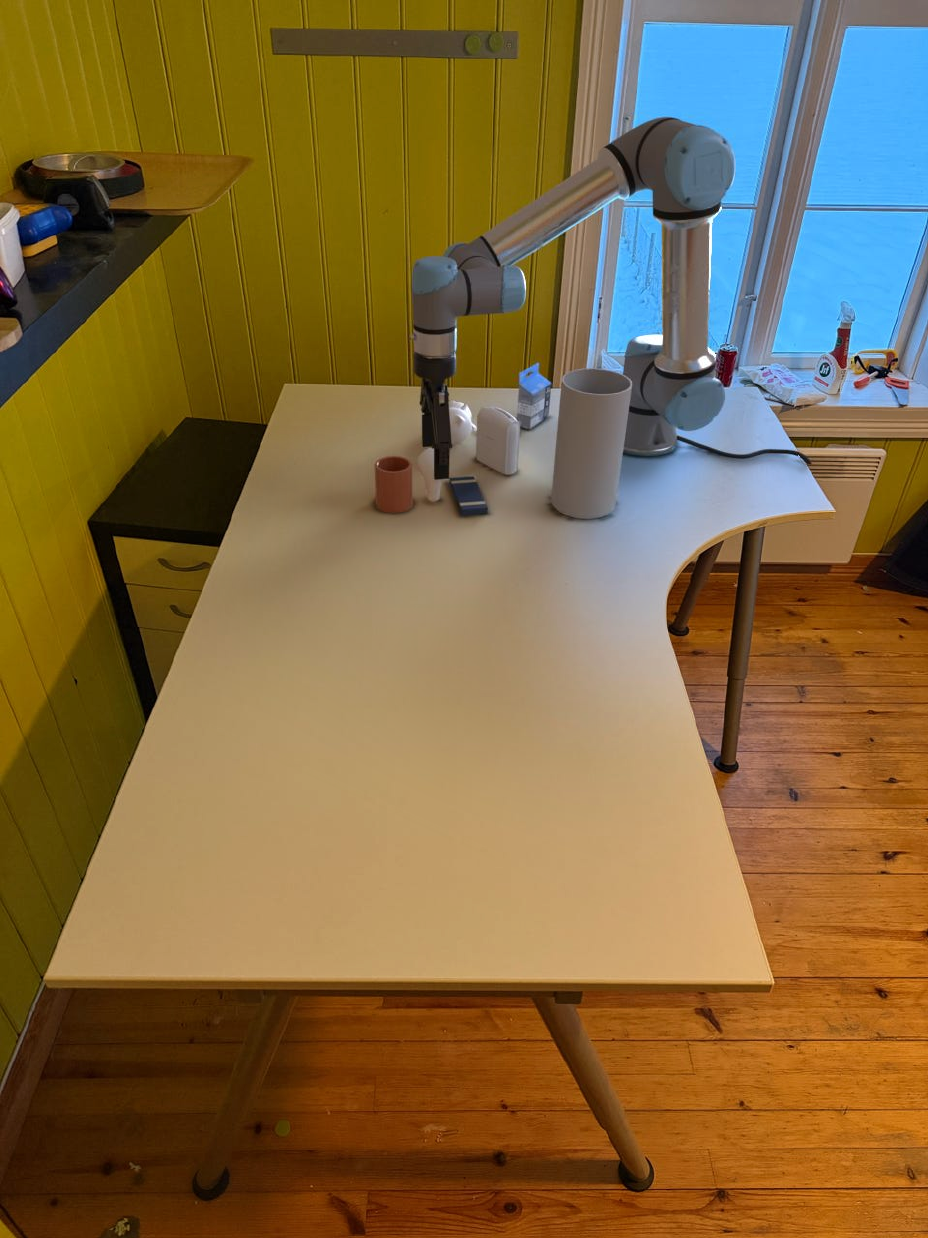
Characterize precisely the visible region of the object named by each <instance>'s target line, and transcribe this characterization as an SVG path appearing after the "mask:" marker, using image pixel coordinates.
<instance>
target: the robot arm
mask: <svg viewBox="0 0 928 1238" xmlns="http://www.w3.org/2000/svg"><path fill="white" fill-rule="evenodd" d="M735 174H736V158H735V153H734V151H733V148H732V146H731V144H730V143H729V141H728V140H727V139H726V138H725V137H724V136H723V135H721V133H718V132H717V131H715V130H714V129H712V128H711V127H708V126H706V125H702V124H696V123H695V124H694V123H691V122H688V121H684V120H681V119H680V118H677V117H672V116H662V117H656V118H653V119H650V120H648V121H647V120H646V122H643V123H641V124H639V125H637V126H635V127H633V128H632V129H630V130H628V131H627V132H625V133H623V134H622V135H620V136H618V137H617V138H615V139H614V140H612V141H611V142H609V143H608V144H607V145H604V147H602V148H600V149H599V151H598V156H597V158H596V159H594V160H593V161H592V162H590V163H589V164H587V165H586V166H584V167H582V168H581V169H579V170H578V171H576V172H575V173H573V174H572V175H570V176H569V177H568V178H566V179H563V181H561V182H560V183H558V184H557V185H555V186H554V187H552V188H550V189H549V190H547V191H546V192H544V193H543V194H542V195H540V196H539V197H537V198H536V199H534V200H533V201H531V202H529V203H528V204H527V205H525V206H524V207H522V208H520V209H519V210H517V211H516V212H514V213H513V214H512V215H511V214H510V216H509V217H507V218H505V219H504V220H502V221H501V222H499V223H497V224H496V225H495V226H493V227H491V228H490V229H488V230H487V231H485V232H484V233H482V234H481V235H480V236H478V237H477V238H475V239H473V240H472V241H470V242H469V243H467V242H456V243H453V244H451V245H449V246H448V247H447V248H446V250H444V252H443V254H442V256H436V255H435V256H434V255H432V256H424V257H421V258H419V259H417V260H416V261H415V262H414V264H413V266H412V275H411V289H410V290H411V297H412V300H411V301H412V319H413V320H412V330H413V333H410V334H409V339H410V340H412V341H413V351H414V352H413V356H412V357H413V373H414V375H415V376H416V377H418V378H420V379H421V383H420V396H419V406H420V407H421V408H420V411H421V446H422V448H432V449H434V479H435V480H440V479H443V480H449V478H450V467H449V462H450V450H451V449H452V448H453V444H452V441H451V428H450V415H449V404H450V403H449V400H450V399H449V398H450V393H449V388H448V385H447V384H446V382H445V381H446V380H447V379H451V378H452V377H454V375H455V374H456V373H457V354H456V351H457V346H458V345H457V344H458V343H457V341H458V340H457V339H458V337H457V334H458V330H457V329H458V328H457V327H458V324H457V321H458V320H457V319H458V318H459V317H468V316H469V317H470V316H482V315H484V316H485V315H495V314H496V315H497V314H501V315H503V314H507V313H511V312H517V311H519V310H521V309H522V308H523V306H524V304H525V301H526V295H527V284H526V279H525V274H524V272H523V271H522V269H521V268H520V267H519V266H517V265H516V264H518V263H519V262H520V261H522V260H524V259H526V258H528V256H530V255H531V254H533V253H535V252H537V251H538V250H540V249H541V248H543V247H544V246H545V245H547V244H549V243H550V242H552V241H553V240H555V239H556V238H558V237H560V236H561V235H563V234H564V233H565V232H567V231H569V230H570V229H572V228H574V227H575V226H576V225H578V224H580V223H581V222H582V221H584V220H586V219H587V218H589V217H590V216H592V215H593V214H595V213H596V212H598V211H600V210H601V209H602V208H604V207H605V206H607V205H609V204H610V203H612V202H613V201H616V199H619V200H623V201H624V200H625V201H626V200H627V199H629V198H630V197H632V196H634V195H636V194H638V193H640V192H643V191H648V190H649V191H652V217H653V218H654V219H655V220H656V221H657V222H659V223H660V225H661V334H646V335H640V336H636V337H634V338H632V339H630V340H629V341H628V343H627V346H626V350H625V353H624V363H623V371H622V374H623V375H625V376H627V377H628V378H629V379H630V380H631V381H632V390H631V397H630V404H629V412H628V419H627V426H626V433H625V440H624V448H623V454H626V455H630V456H635V457H645V458H646V457H660V456H664V455H667V454H669V453H671V452H673V451H674V450H675V449H676V446H677V441H679V442H682V443H685V444H687V445H690V446H692V447H695V448H698V449H700V450H704V451H707V452H709V453H712V454H714V455H717V456H721V457H725V458H729V459H735V460H737V459H738V460H744V459H745V460H746V459H752V458H754V457H758V456H760V455H761V456H762V455H766V454H775V455H776V454H777V455H792V456H796V457H798V455H799V456H800V457H799V459H801V460H803V462H804V463H805V464H806V465H812V464H813V463H812V461H811V459H810V458H809V457H808V456H806V454H804V453H802V452H800V451H798V450H794V449H783V448H779V449H778V448H763V449H759V450H755V451H753V452H750V453H743V454H742V453H741V454H739V453H738V454H737V453H731V452H726V451H723V450H720V449H716V448H714V447H711V446H708V445H705V444H702V443H699V442H697V441H694V440H692V439H689V438H686V437H683V436H681V435H678V433H677V429H678V430H680V431H683V432H693V431H697V430H701V429H703V428H704V427H706V426H708V425H709V424H710V423H712V422H713V421H714V419H715V417H717V416H718V415H719V414H720V413H721V411H722V410H723V407H724V404H725V401H726V389H725V386H724V385H723V383H722V381H721V380H720V379H718V378H716V366H717V358H716V357H717V355H716V354H715V352H714V351H712V349H710V348H709V328H710V327H709V326H710V325H709V324H710V293H711V291H710V290H711V289H710V288H711V286H710V285H711V257H712V227H713V226H712V225H713V224H712V223H713V219H714V218H715V217H716V216H717V215H718V214H719V213H720V212H721V210H722V201H723V199H725V197H726V196H727V192H728V190H730V189H731V187H732V185H733V182H734V179H735Z"/></svg>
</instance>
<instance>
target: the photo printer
mask: <svg viewBox="0 0 928 1238" xmlns="http://www.w3.org/2000/svg"><path fill="white" fill-rule="evenodd" d="M476 427H477V432H476V441H475V447H476V448H475V458H476V460H477V461H478V462H480V463H482V464H483V465H485V466H487V467H489V468H491V469H492V470H494V471H496V472H498V473H500V474H501V475H506V476H509V475H513V474H515V473H516V472H517V470H518V468H519V453H520V437H521V436H520V433H521V427H520V425H519V422H518V421H517V418H515V417H514V416H513V415H512V414H511V413H509V412H508V411H506V410H504V409H503V408H500V407H497V406H492V405H486V406H483V407H481V408H480V409H479V410H478V412H477V416H476Z"/></svg>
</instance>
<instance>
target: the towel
mask: <svg viewBox="0 0 928 1238" xmlns="http://www.w3.org/2000/svg"><path fill="white" fill-rule="evenodd" d="M448 481H449V483H448V484H449V487H450V489H451V492H452V494H453V497H454V500H455V502H456V505H457V507H458V510H459V512H460V515H461V517H465V516H466V517H467V516H478V515H488V513H489V507H488V505H487V503H486V501H485V498H484V496H483V494H482V491H481V489H480V487H479V485H478V482H477V480H476V477H475V476H474V475H470V476H455V477H449V479H448Z"/></svg>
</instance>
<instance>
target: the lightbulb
mask: <svg viewBox="0 0 928 1238" xmlns="http://www.w3.org/2000/svg"><path fill="white" fill-rule="evenodd" d="M417 458H418V459H417V462H416V464H417V465H416V466H417V470H418V472H419V474H420V476H421V477H422V479H423V482H424V489H425V491H426V498H427V500H428V501H430V502H432V503H435V502H437V501H439V500H440V498H441V491H442V487H443V481H444V479H440V480H435V479H434V449H432V447H427V448H426V449H424V450H423V451H422V452H421V453H420V454H419V456H418V457H417ZM450 465H451V462H450V461H449V468H450Z"/></svg>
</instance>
